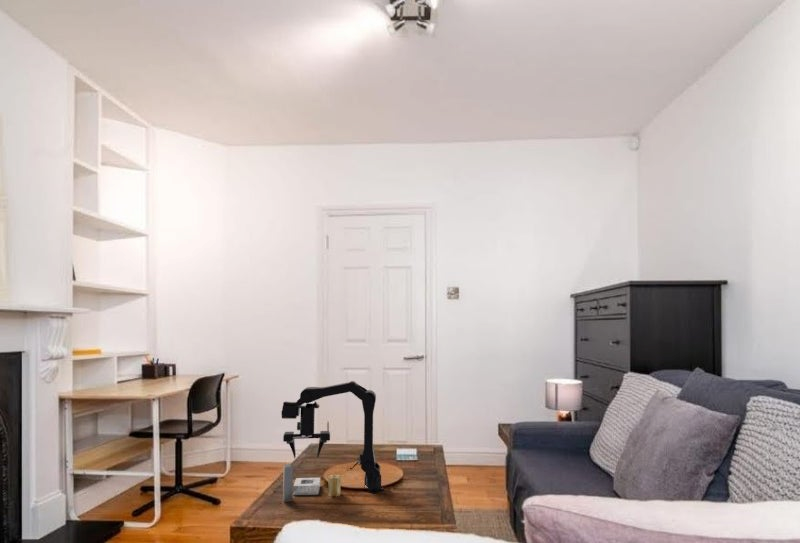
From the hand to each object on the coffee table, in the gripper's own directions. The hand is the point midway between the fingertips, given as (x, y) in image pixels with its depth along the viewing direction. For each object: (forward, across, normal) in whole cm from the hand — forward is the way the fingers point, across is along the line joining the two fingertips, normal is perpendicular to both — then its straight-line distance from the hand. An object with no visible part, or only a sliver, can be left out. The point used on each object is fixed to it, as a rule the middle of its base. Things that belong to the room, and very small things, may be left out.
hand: (306, 457), depth 213 cm
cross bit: (+13, -12, +7) cm, 19 cm away
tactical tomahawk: (+14, -23, -32) cm, 42 cm away
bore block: (+13, -1, 0) cm, 13 cm away
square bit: (+13, +6, +10) cm, 18 cm away
